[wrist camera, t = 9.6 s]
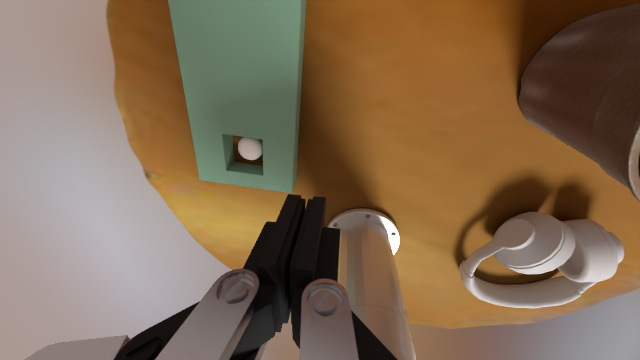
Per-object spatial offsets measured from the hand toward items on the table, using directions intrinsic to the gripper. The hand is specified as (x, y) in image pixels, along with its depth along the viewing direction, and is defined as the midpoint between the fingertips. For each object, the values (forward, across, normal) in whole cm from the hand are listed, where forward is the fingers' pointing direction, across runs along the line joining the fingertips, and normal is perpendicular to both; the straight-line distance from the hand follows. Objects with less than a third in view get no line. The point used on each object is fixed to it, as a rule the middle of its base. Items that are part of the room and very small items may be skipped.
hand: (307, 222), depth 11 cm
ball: (+22, +11, +5) cm, 25 cm away
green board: (+23, +12, -2) cm, 26 cm away
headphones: (+24, -32, +21) cm, 45 cm away
